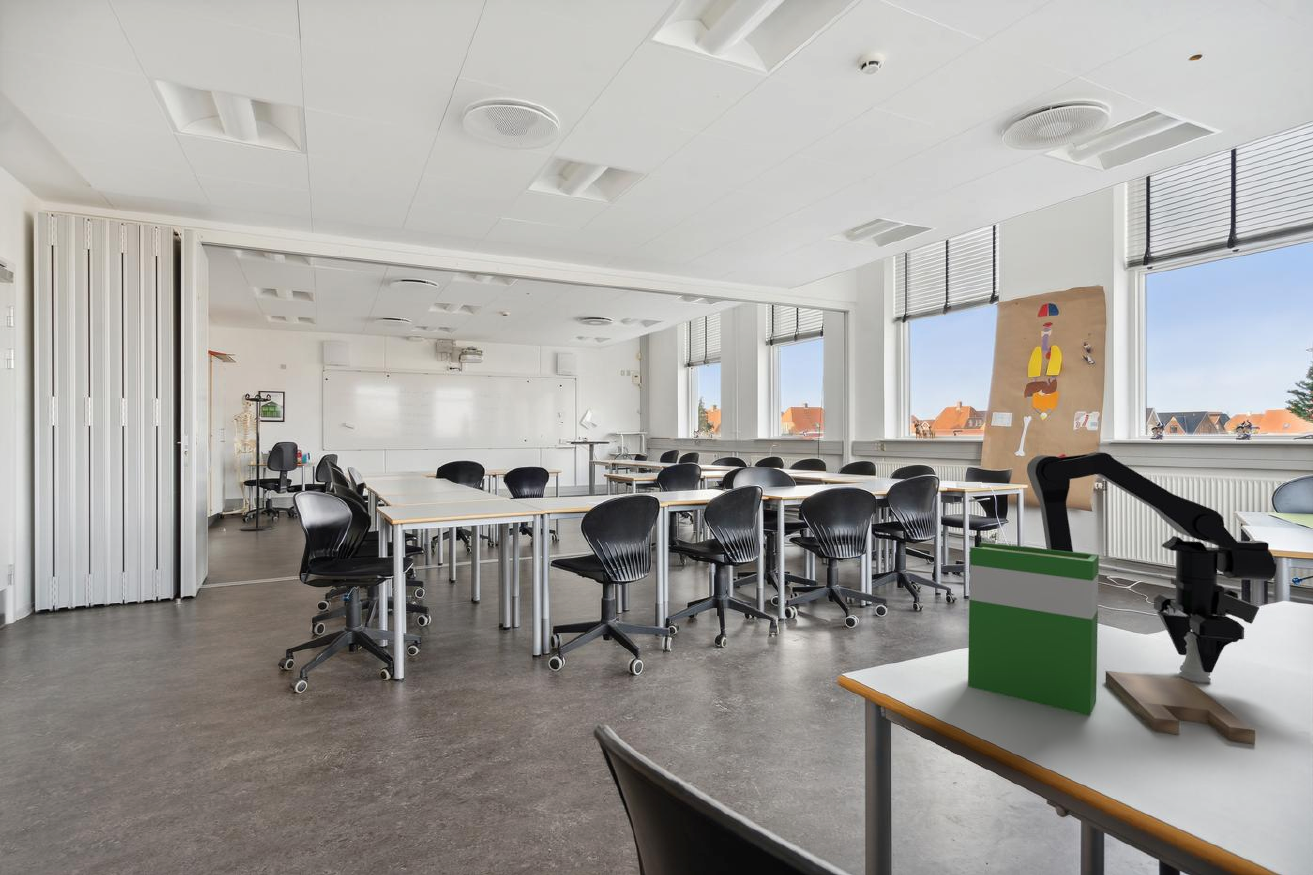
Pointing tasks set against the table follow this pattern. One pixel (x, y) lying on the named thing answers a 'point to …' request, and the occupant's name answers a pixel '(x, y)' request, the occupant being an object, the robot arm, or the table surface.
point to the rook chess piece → (1193, 664)
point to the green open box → (1034, 625)
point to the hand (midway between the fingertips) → (1194, 663)
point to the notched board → (1176, 705)
